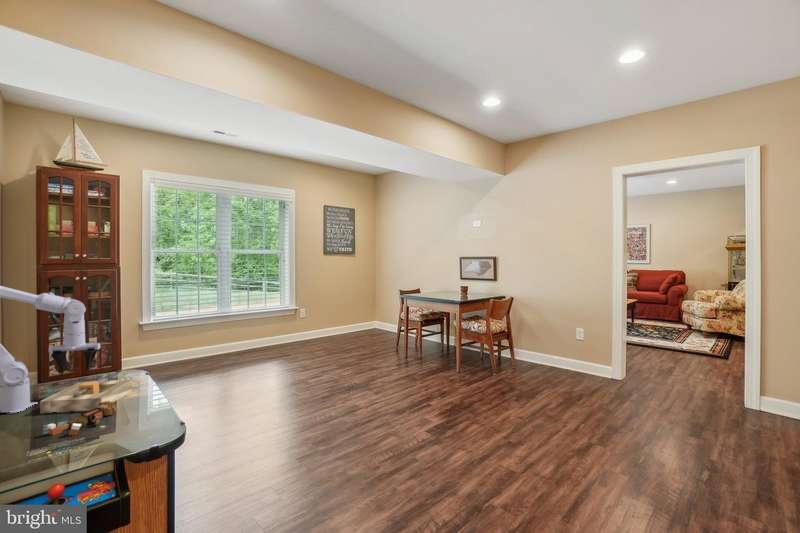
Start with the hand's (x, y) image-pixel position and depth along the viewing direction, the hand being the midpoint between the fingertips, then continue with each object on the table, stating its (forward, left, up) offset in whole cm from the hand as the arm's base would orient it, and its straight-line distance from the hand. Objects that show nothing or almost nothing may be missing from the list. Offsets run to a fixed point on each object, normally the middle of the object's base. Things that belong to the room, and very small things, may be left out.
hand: (75, 370), depth 135 cm
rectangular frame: (+8, -6, -9) cm, 14 cm away
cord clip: (+8, -6, -8) cm, 13 cm away
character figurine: (+19, -24, -10) cm, 32 cm away
